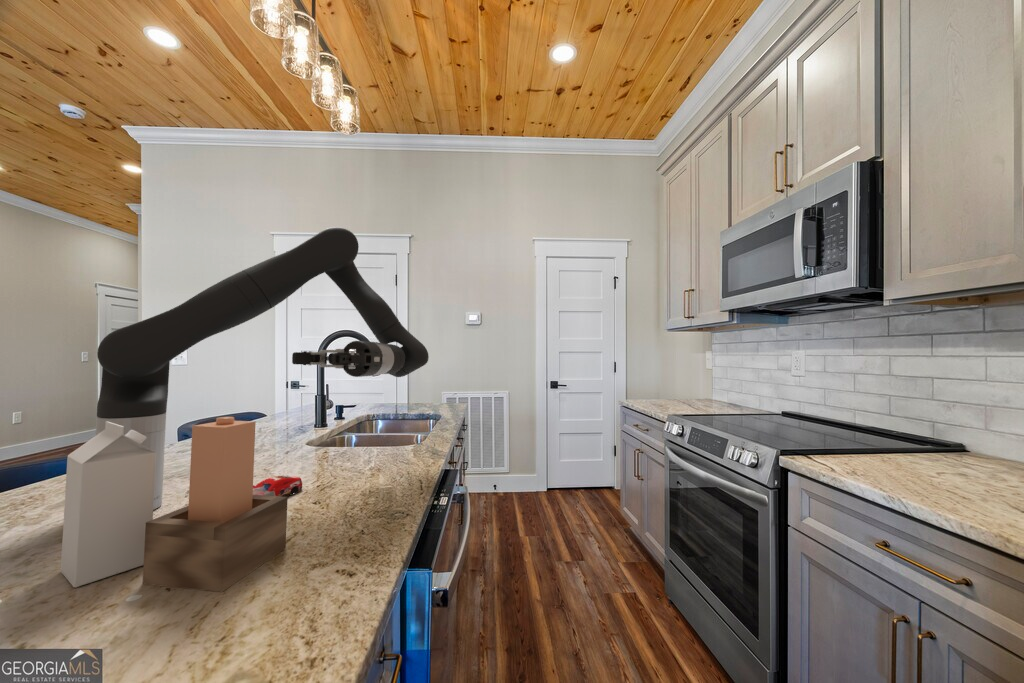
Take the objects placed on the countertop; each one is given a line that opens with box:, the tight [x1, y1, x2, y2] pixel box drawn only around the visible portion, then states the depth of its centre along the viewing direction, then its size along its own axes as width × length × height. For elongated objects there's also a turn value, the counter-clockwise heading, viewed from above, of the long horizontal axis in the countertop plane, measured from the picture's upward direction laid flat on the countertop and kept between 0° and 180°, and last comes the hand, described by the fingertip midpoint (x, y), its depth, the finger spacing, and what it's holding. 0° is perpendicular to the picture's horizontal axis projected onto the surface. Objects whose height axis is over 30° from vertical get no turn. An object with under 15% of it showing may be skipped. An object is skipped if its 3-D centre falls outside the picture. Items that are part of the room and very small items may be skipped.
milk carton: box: [60, 421, 156, 588], centre depth 53 cm, size 7×7×19 cm
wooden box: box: [142, 495, 289, 593], centre depth 54 cm, size 11×11×8 cm
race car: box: [253, 475, 303, 497], centre depth 79 cm, size 13×5×4 cm, turn 163°
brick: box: [188, 416, 256, 522], centre depth 54 cm, size 5×5×14 cm
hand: (313, 358), depth 71 cm, fingers open, 8 cm apart
